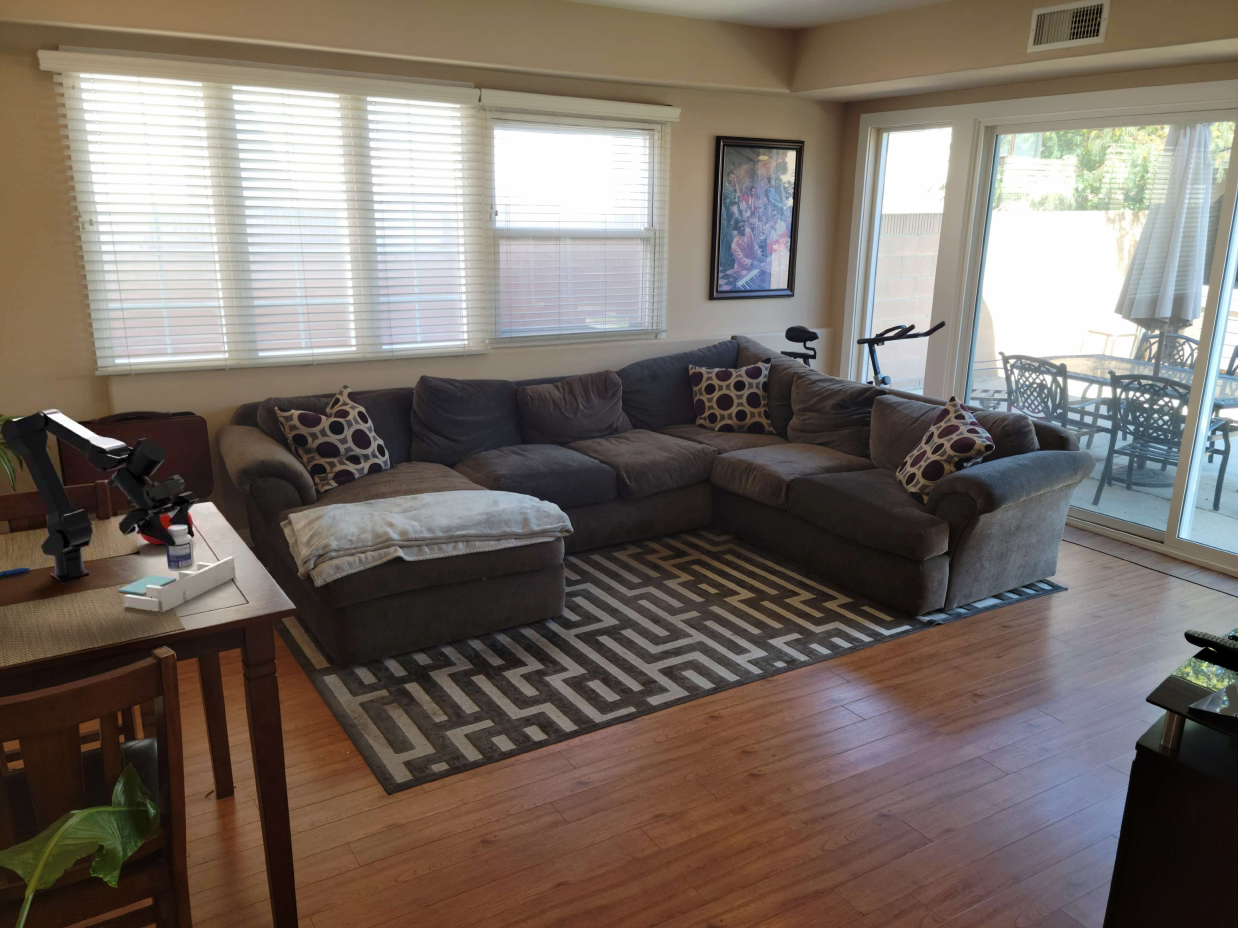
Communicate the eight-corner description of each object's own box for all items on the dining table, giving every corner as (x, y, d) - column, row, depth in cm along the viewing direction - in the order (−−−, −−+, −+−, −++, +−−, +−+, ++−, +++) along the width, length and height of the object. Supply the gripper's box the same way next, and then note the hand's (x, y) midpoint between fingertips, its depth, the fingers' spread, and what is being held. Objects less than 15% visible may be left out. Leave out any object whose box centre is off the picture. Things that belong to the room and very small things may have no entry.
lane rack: (125, 606, 195) (122, 585, 194) (200, 571, 217) (199, 552, 216) (162, 612, 193) (160, 590, 192) (235, 576, 214) (233, 556, 213)
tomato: (190, 532, 247) (186, 495, 244) (198, 544, 237) (194, 506, 234) (135, 540, 239) (131, 502, 237) (141, 553, 229) (137, 513, 227)
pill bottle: (173, 564, 206) (170, 523, 204) (197, 564, 206) (194, 523, 204) (163, 572, 201) (160, 530, 198) (188, 572, 201) (185, 530, 199)
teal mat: (118, 591, 204) (117, 589, 204) (151, 576, 213) (151, 574, 213) (143, 595, 202) (143, 593, 202) (176, 580, 211) (175, 578, 211)
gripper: (123, 476, 190) (171, 531, 190) (188, 457, 208) (231, 508, 207) (98, 507, 194) (144, 561, 194) (163, 487, 212) (206, 536, 211)
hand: (183, 540), depth 202 cm, fingers closed on pill bottle, 5 cm apart
